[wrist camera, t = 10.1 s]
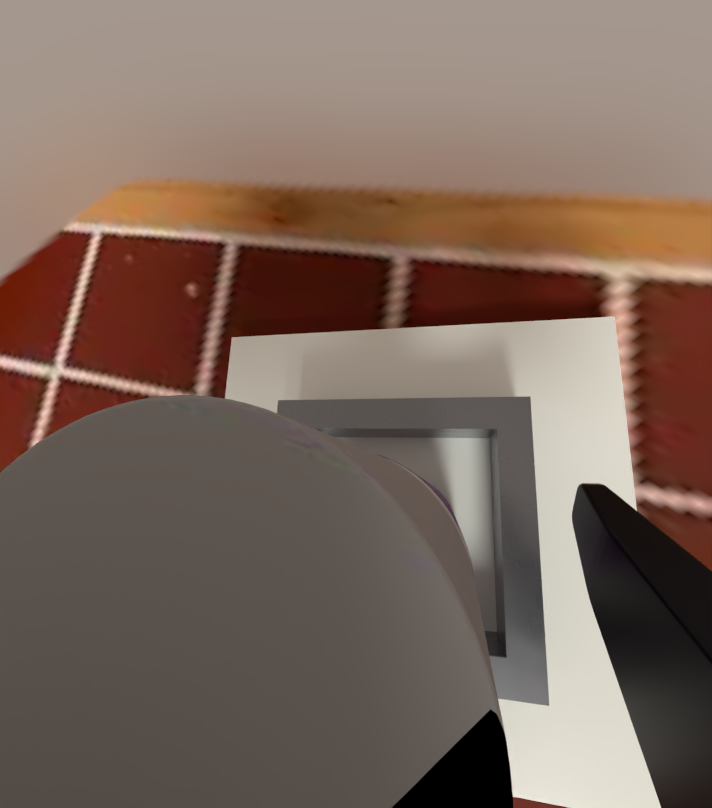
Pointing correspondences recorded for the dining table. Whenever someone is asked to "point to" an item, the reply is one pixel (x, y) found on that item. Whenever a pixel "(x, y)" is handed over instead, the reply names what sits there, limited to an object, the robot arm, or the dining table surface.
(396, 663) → the container
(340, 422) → the collar
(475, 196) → the dining table surface
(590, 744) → the mat
